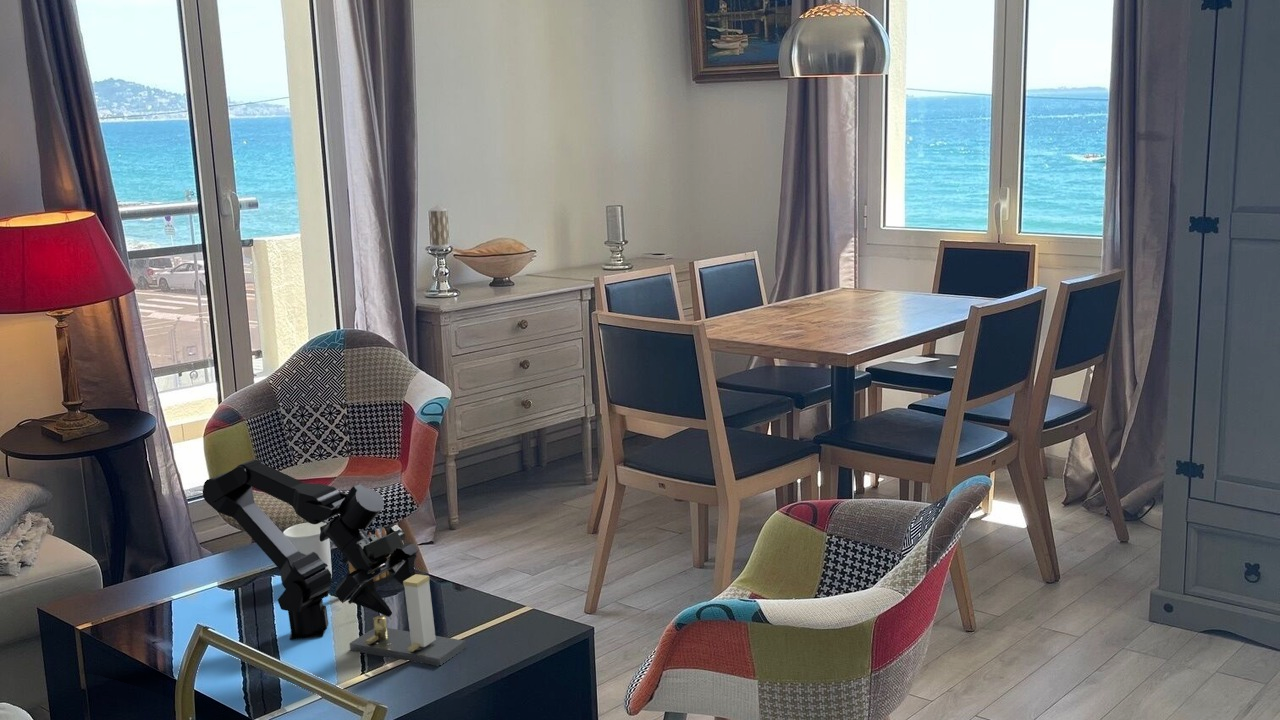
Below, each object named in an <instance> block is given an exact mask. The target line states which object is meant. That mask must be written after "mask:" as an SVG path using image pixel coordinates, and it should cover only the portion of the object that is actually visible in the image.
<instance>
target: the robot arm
mask: <svg viewBox="0 0 1280 720" xmlns="http://www.w3.org/2000/svg"><path fill="white" fill-rule="evenodd" d="M253 488H254V489H256V490H258V491H260V492H262V493H264V494H267V495H269V496H271V497H273V498H275V499H278V500H279V501H282V502H283V503H286V504H288V505H289V506H291V507H292V508H293V509H294V512H295V514H296V515H297V516H298V517H300V518H301V519H302V520H305V521H306V523H310V524H318V523H321V522H323V523H324V522H325V521H326V520H329V519H331V520H330V521H329V522H328V523H326V525H324V526H322V527H320V541H321V542H322V541H324V540H326V539H328V538H330V542H332V543H333V544H334V546H335V547H336V548H337V549H338V550H339V552H340V553H341V555H343V556H344V557H343V558H342V559H341V562H342V563H343V564H344V565H347V564H349V562H350V563H351V565H352V566H353V567H354V568H355V569H356V571H354V572H352V573H350V574H349V573H348V574H347V575H345V576H344V578H343V579H342V580H341V582H340V583H339V584H338V586H336V588H335V596H336V597H337V599H338V600H339V601H340V602H341V603H342V604H344V603H345V602H348V604H350V605H351V604H355V605H359V606H361V607H364V608H367V609H369V610H371V611H374V612H376V613H378V614H381V615H383V616H386V618H389V617H391V616H392V614H393V612H392V610H391V609H390V607H389V605H388V604H387V603H386V601H385V600H384V599H383V598H382V596H381V595H380V594H379V593H378V591H377V590H376V587H375V586H374V581H373V579H374V578H375V577H377V576H379V575H381V574H383V573H384V572H386V571H389V572H391V573H395V574H394V576H393V578H394V579H393V580H396V582H398V583H400V584H401V585H402V586H403V587H404V585H403V581H405V580H406V579H408V578H410V577H411V576H413V575H415V574H416V573H417V572H416V570H415V560H416V559H417V558H418V555H417V554H418V553H419V549H418V548H417V546H415V544H414V543H413V542H405V543H404V542H403V541H404V540H405V539H406V534H405V532H404V531H403V529H402V528H401V527H399V525H398V524H395V525H393V526H391V527H389V528H387V529H385V531H386V535H385V536H383V537H382V536H380V538H379V539H378V538H377V536H376V535H375V534H373V533H371V534H372V535H370V536H368V535H369V534H367V532H365V530H364V529H367V528H368V527H369V526H370V525H371V524H372V522H373V521H374V519H376V517H377V516H378V515H379V514H380V512H381V511H382V510H383V508H384V505H385V502H384V498H383V496H382V495H381V494H380V493H379V492H378V491H376V490H374V489H372V488H369V487H365V486H363V485H362V483H357V484H355V485H353V486H352V487H351V488H350V490H349V491H348V493H345V492H341V491H339V489H337V488H336V487H334V486H331V485H328V484H327V485H326V484H322V483H307V482H303V481H302V480H299V479H296V478H295V477H293V476H291V475H288V474H286V473H284V472H282V471H280V470H277V469H275V468H273V467H271V466H268V465H267V464H264V462H263V461H262V460H260V459H254V458H253V459H251V460H248V461H246V462H243V463H239V464H238V465H237V466H236V467H235V468H233V469H232V470H230V471H227V472H224V473H221V474H219V475H216V476H213V477H211V478H208V479H206V480H205V481H204V482H203V487H202V496H203V499H204V501H205V502H206V503H207V504H208V505H209V506H210V507H211V508H213V509H214V510H215V511H216V512H217V513H220V514H222V515H224V516H228V517H230V518H233V519H234V520H235V521H236V523H238V525H240V526H241V528H242V530H244V531H245V532H246V533H247V535H248V536H249V537H250V538H251V539H252V541H253V542H255V543H256V545H258V547H259V548H260V549H261V551H263V552H264V554H265V555H266V556H267V557H268V558H269V559H270V561H272V563H273V564H274V565H275V566H276V567H277V568H278V570H279V572H280V578H281V585H282V586H283V588H284V591H283V592H282V593H281V595H280V596H279V598H278V599H277V603H278V605H279V607H280V610H282V611H287V612H288V620H289V627H290V635H289V637H288V638H289V640H290V641H293V640H303V639H312V638H320V637H323V636H324V634H325V633H326V631H327V629H328V626H329V618H328V617H329V616H328V610H327V609H328V608H327V606H326V604H325V605H324V602H323V599H324V598H327V597H328V596H329V593H330V588H331V586H332V578H331V573H330V571H329V570H328V568H327V566H328V565H327V564H325V563H324V562H323V561H322V560H321V559H320V558H319V556H318V555H317V554H316V553H315V552H311V553H309V554H307V555H306V554H303V553H301V552H299V551H298V550H297V549H296V547H295V546H294V545H293V544H292V543H291V542H290V541H289V540H288V539H287V537H286V536H285V535H284V534H283V532H282V531H281V529H280V528H278V526H277V525H276V524H275V523H274V522H273V520H272V519H270V517H269V516H268V515H267V514H266V513H265V512H264V511H263V509H261V507H260V506H259V505H258V504H257V503H256V502H255V499H254V489H253ZM389 555H390V557H389V558H388V559H387V557H388V556H389ZM380 568H382V569H380ZM372 573H373V574H372Z"/></svg>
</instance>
